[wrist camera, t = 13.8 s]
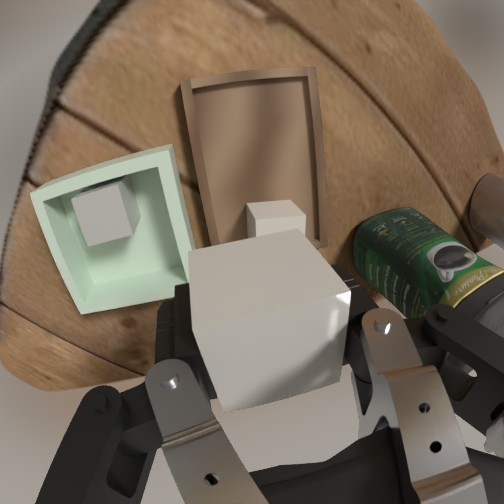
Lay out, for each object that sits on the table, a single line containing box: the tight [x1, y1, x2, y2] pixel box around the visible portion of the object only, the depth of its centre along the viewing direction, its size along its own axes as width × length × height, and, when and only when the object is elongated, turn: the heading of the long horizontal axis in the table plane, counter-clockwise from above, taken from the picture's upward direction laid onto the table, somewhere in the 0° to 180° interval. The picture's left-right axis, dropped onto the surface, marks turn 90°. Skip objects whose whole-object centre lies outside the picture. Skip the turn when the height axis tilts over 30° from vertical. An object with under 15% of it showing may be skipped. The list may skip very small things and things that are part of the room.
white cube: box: [246, 200, 306, 238], centre depth 25 cm, size 4×4×4 cm
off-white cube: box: [71, 174, 141, 247], centre depth 21 cm, size 4×4×4 cm
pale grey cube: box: [188, 228, 351, 413], centre depth 10 cm, size 4×4×4 cm
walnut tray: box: [180, 67, 328, 249], centre depth 24 cm, size 11×17×1 cm, turn 8°
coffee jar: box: [353, 207, 504, 374], centre depth 23 cm, size 10×8×19 cm
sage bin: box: [30, 144, 196, 314], centre depth 23 cm, size 12×12×4 cm
